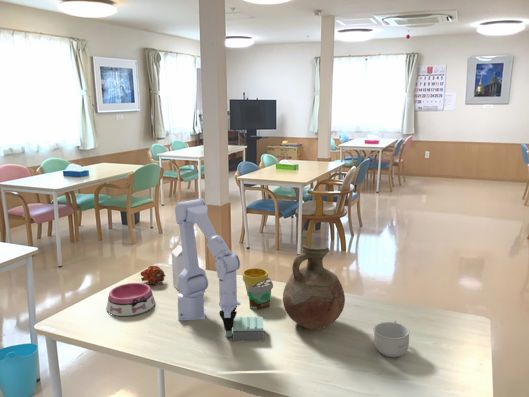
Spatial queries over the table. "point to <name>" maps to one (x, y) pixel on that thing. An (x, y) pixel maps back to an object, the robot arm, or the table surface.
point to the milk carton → (177, 264)
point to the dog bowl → (130, 300)
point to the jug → (313, 291)
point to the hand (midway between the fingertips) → (228, 327)
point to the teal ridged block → (246, 324)
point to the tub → (247, 336)
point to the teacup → (391, 338)
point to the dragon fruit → (153, 275)
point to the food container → (260, 294)
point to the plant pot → (254, 276)
